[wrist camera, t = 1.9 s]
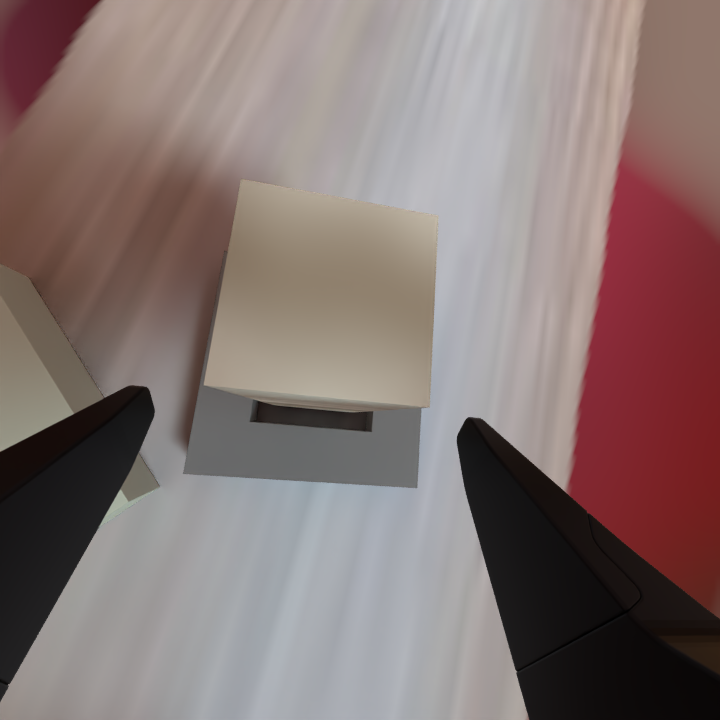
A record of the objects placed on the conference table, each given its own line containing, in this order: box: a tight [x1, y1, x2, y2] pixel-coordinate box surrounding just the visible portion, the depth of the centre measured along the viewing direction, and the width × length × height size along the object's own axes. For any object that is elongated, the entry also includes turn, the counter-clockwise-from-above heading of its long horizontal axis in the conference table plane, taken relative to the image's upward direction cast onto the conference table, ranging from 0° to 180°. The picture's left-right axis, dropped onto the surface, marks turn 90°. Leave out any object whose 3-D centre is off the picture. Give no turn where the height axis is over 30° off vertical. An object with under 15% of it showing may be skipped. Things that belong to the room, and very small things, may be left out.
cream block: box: [204, 179, 438, 413], centre depth 13 cm, size 4×4×13 cm
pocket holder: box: [183, 251, 421, 488], centre depth 18 cm, size 12×12×2 cm
